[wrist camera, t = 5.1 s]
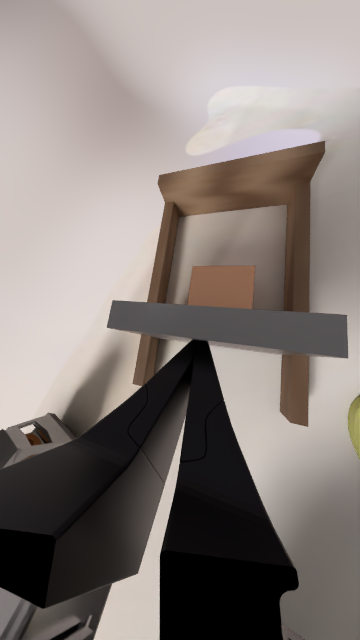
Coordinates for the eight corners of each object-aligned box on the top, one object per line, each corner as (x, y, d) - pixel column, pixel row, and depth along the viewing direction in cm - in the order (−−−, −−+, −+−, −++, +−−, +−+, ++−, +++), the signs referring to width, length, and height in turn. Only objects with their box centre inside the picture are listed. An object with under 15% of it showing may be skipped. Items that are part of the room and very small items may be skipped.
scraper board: (275, 335, 13) (346, 314, 5) (274, 354, 13) (348, 358, 5) (165, 324, 16) (112, 300, 8) (163, 338, 16) (106, 327, 8)
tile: (249, 281, 15) (255, 265, 12) (245, 333, 14) (250, 328, 11) (198, 281, 16) (192, 266, 13) (192, 327, 16) (184, 322, 13)
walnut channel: (299, 193, 15) (324, 141, 11) (294, 414, 12) (327, 444, 8) (172, 210, 19) (159, 175, 15) (143, 379, 16) (118, 388, 12)
